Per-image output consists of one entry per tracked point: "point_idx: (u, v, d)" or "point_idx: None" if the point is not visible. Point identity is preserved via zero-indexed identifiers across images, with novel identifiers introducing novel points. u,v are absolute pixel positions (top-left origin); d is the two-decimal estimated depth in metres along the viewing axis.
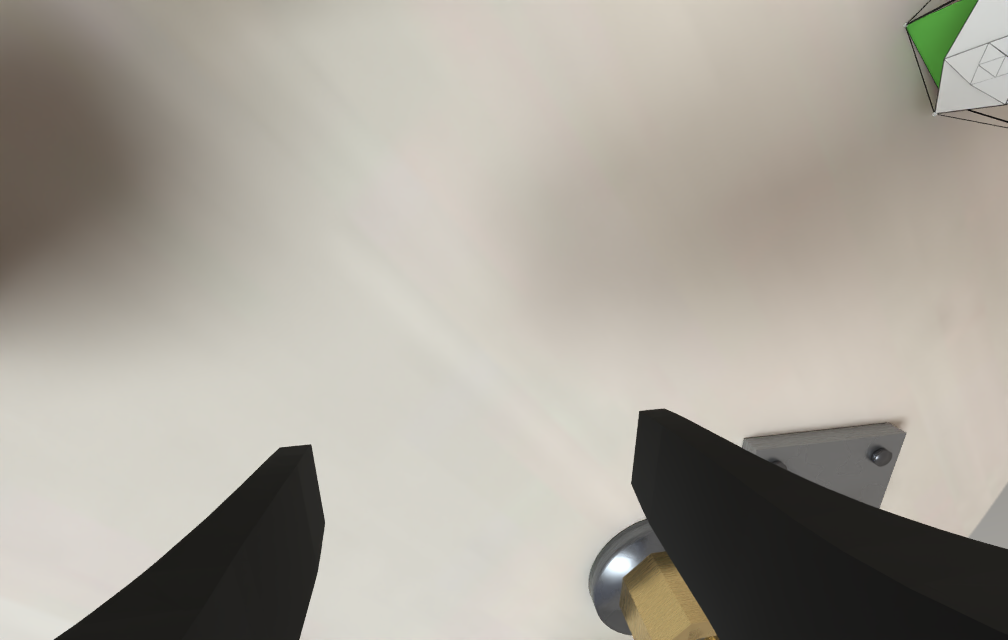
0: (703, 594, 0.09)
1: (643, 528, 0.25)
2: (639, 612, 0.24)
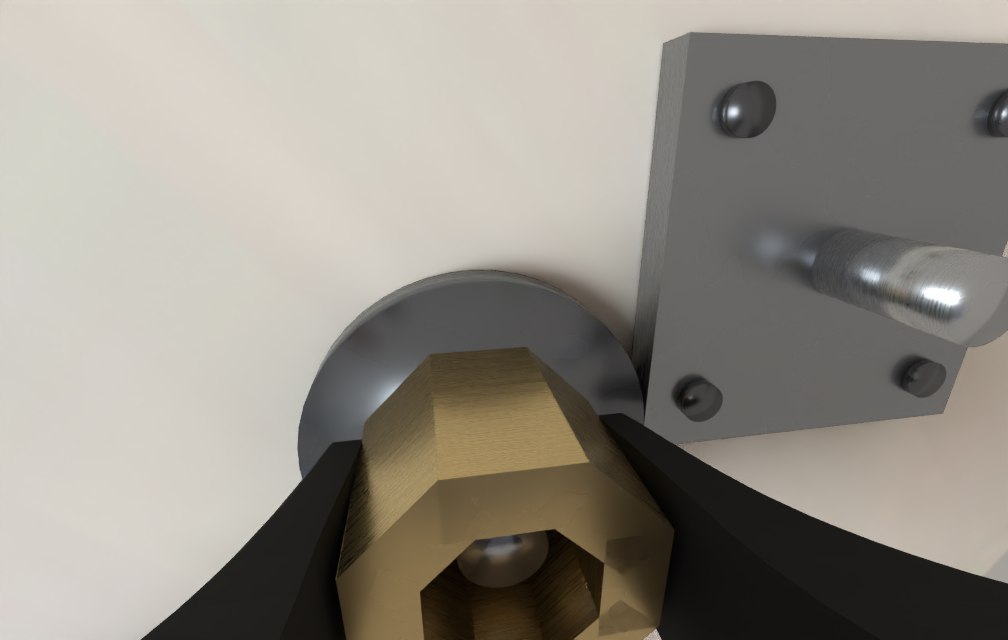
0: None
1: (411, 289, 0.10)
2: (354, 484, 0.08)
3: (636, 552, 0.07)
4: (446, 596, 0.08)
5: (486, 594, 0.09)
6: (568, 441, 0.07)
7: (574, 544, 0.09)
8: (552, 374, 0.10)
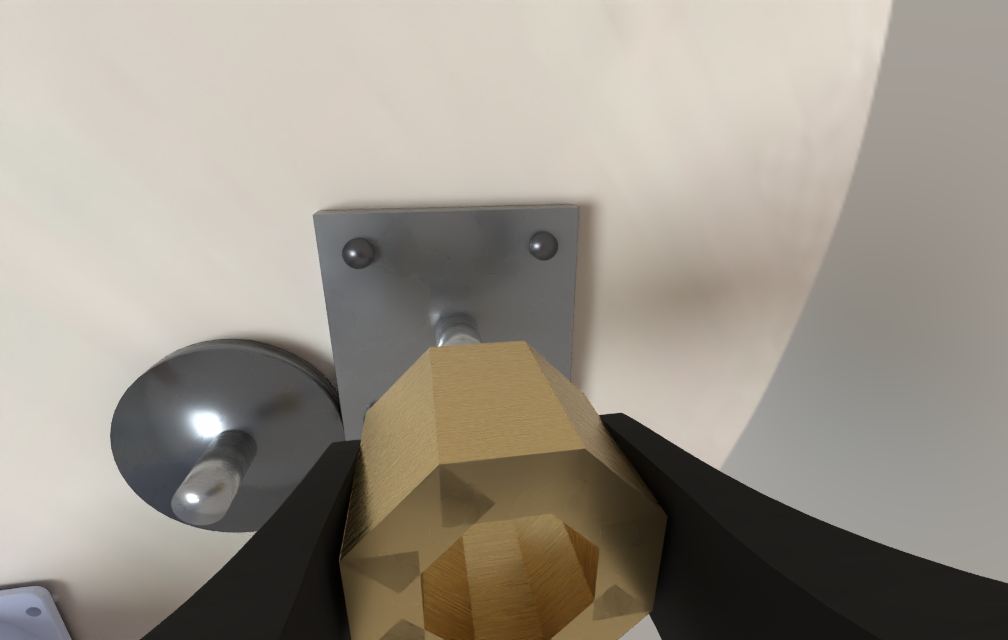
0: None
1: (177, 353, 0.16)
2: (355, 471, 0.08)
3: (630, 537, 0.07)
4: (445, 582, 0.09)
5: (484, 581, 0.09)
6: (565, 429, 0.07)
7: (570, 532, 0.09)
8: (549, 367, 0.10)
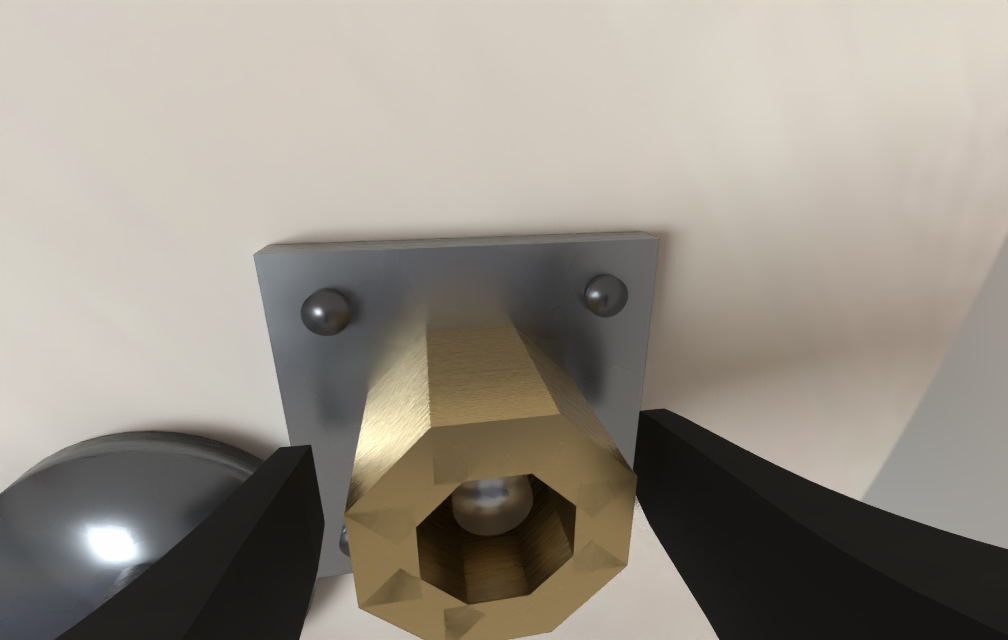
0: (703, 594, 0.09)
1: (56, 458, 0.11)
2: (359, 442, 0.09)
3: (604, 496, 0.08)
4: (440, 542, 0.09)
5: (476, 543, 0.10)
6: (544, 398, 0.08)
7: (554, 498, 0.10)
8: (536, 350, 0.11)
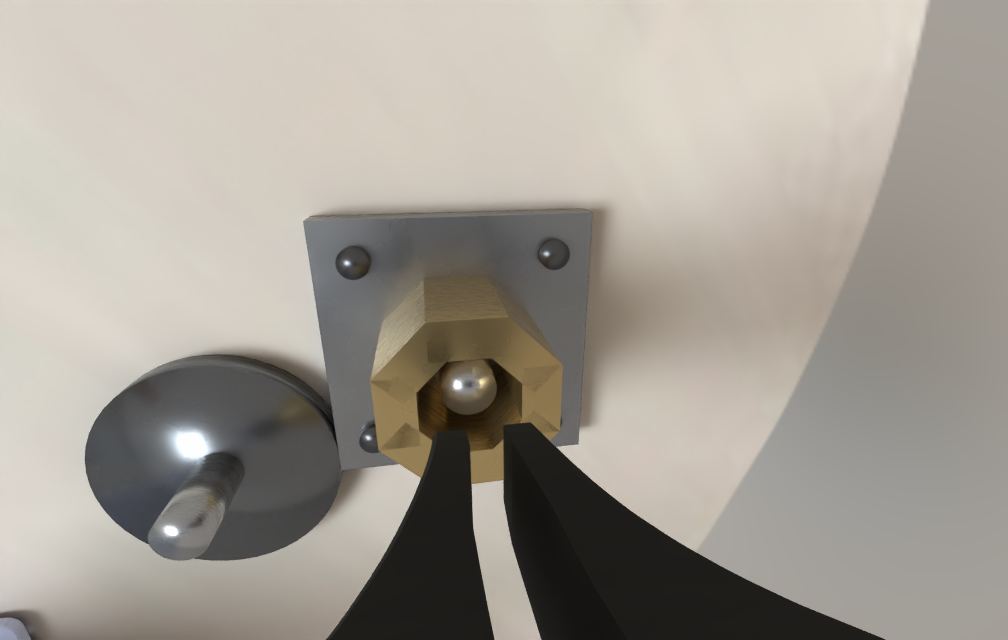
0: (540, 622, 0.08)
1: (156, 371, 0.15)
2: (377, 349, 0.14)
3: (541, 377, 0.13)
4: (433, 419, 0.14)
5: (458, 424, 0.14)
6: (500, 310, 0.12)
7: (512, 392, 0.14)
8: (503, 292, 0.15)
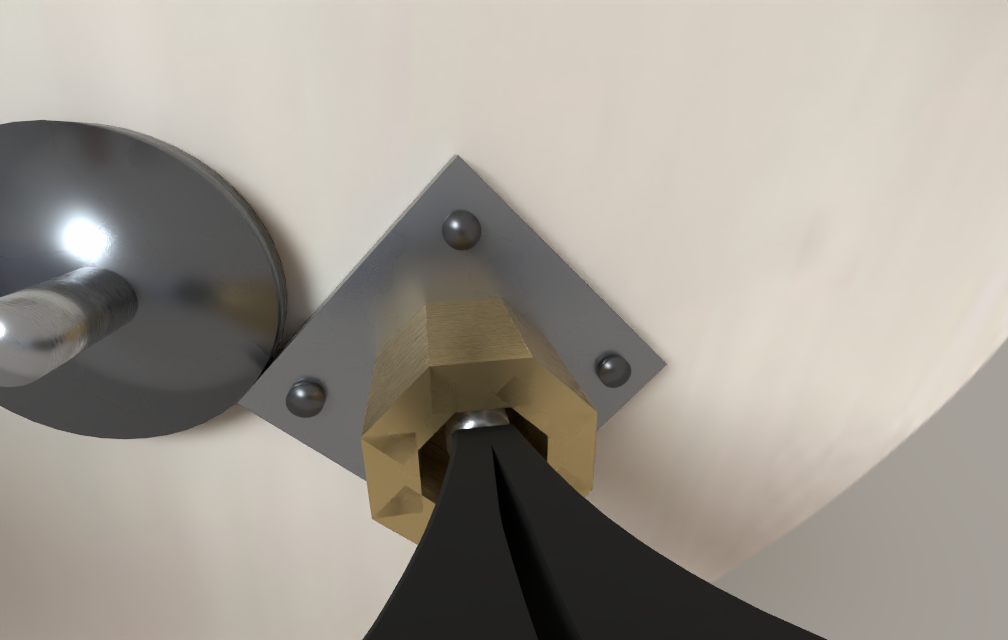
0: None
1: (149, 139, 0.11)
2: (427, 330, 0.11)
3: None
4: None
5: (430, 462, 0.12)
6: (585, 397, 0.11)
7: None
8: None
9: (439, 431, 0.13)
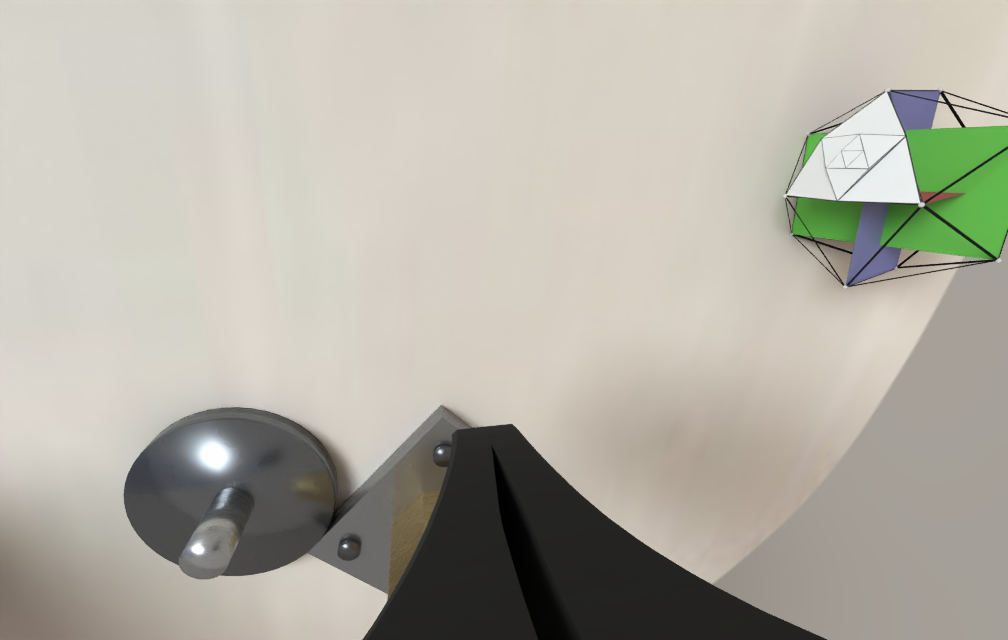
0: None
1: (265, 418, 0.19)
2: (423, 526, 0.19)
3: None
4: None
5: None
6: None
7: None
8: None
9: None
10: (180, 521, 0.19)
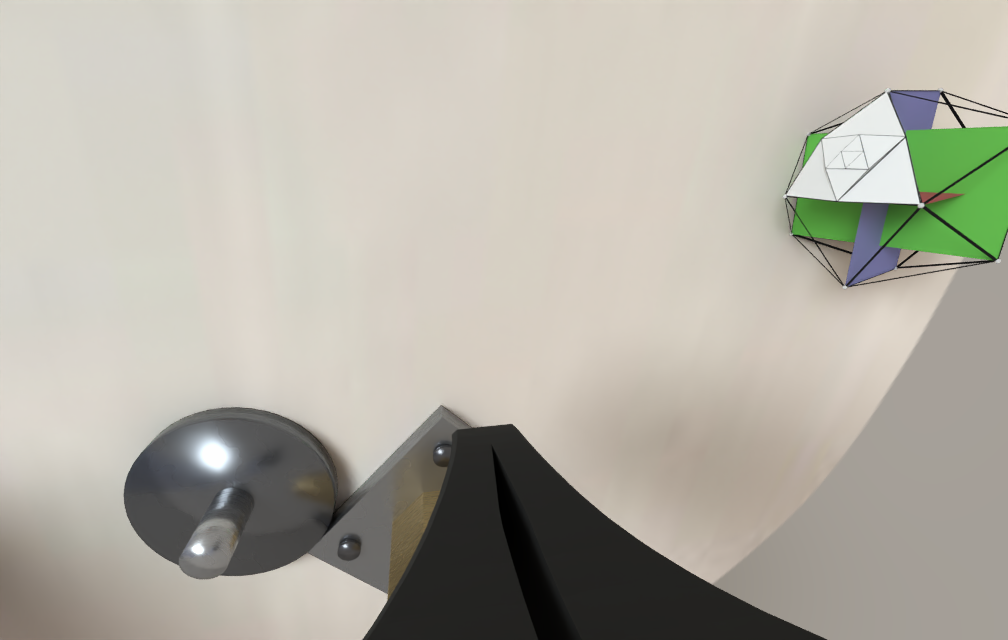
0: None
1: (265, 418, 0.19)
2: (423, 526, 0.19)
3: None
4: None
5: None
6: None
7: None
8: None
9: None
10: (180, 521, 0.19)
